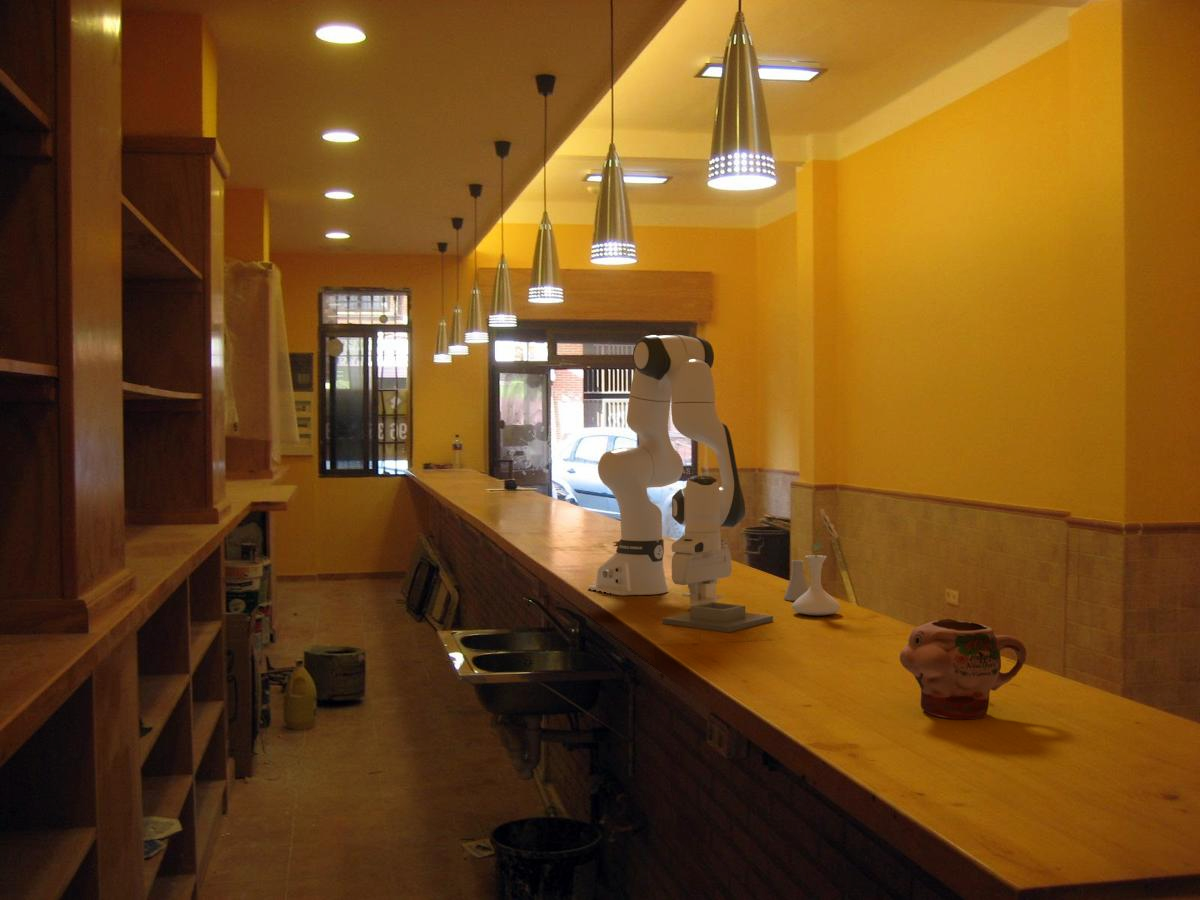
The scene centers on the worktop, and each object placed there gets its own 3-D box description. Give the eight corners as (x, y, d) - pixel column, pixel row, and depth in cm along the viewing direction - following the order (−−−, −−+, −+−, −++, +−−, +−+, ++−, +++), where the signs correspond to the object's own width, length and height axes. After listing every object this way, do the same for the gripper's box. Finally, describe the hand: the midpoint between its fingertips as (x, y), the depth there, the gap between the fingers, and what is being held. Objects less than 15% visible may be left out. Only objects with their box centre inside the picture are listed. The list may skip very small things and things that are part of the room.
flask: (814, 602, 289) (814, 562, 289) (785, 602, 289) (785, 562, 289) (809, 597, 296) (809, 559, 296) (781, 597, 296) (781, 559, 296)
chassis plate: (662, 623, 260) (662, 607, 259) (708, 613, 273) (708, 597, 273) (728, 632, 248) (728, 615, 248) (772, 621, 261) (772, 605, 261)
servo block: (682, 606, 280) (682, 580, 280) (692, 603, 284) (692, 578, 283) (713, 610, 274) (713, 583, 274) (723, 608, 277) (723, 581, 277)
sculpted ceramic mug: (1003, 699, 187) (1003, 615, 186) (1043, 718, 175) (1043, 628, 174) (887, 705, 184) (887, 619, 183) (920, 725, 171) (920, 633, 171)
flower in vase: (827, 620, 262) (827, 511, 262) (783, 615, 269) (782, 509, 268) (851, 612, 273) (851, 508, 272) (808, 608, 279) (808, 506, 279)
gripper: (717, 538, 288) (716, 592, 289) (667, 545, 273) (667, 602, 273) (737, 540, 284) (737, 595, 285) (688, 547, 269) (688, 605, 269)
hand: (702, 599), depth 279 cm, fingers closed on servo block, 4 cm apart
